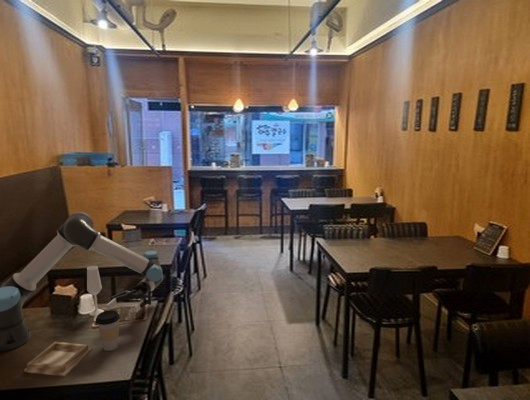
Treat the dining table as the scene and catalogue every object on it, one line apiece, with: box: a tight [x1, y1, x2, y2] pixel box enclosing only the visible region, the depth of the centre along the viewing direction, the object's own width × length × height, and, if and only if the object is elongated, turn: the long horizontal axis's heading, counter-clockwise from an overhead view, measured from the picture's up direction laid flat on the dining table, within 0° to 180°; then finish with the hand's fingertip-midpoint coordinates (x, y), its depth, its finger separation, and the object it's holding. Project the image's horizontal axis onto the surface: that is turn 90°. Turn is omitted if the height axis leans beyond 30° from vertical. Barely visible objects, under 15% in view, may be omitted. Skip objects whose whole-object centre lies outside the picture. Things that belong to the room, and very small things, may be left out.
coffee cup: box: [95, 309, 121, 352], centre depth 159 cm, size 9×9×15 cm
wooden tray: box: [23, 341, 93, 377], centre depth 151 cm, size 17×17×3 cm
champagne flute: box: [86, 265, 105, 317], centre depth 188 cm, size 7×7×24 cm
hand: (121, 308), depth 168 cm, fingers open, 13 cm apart
